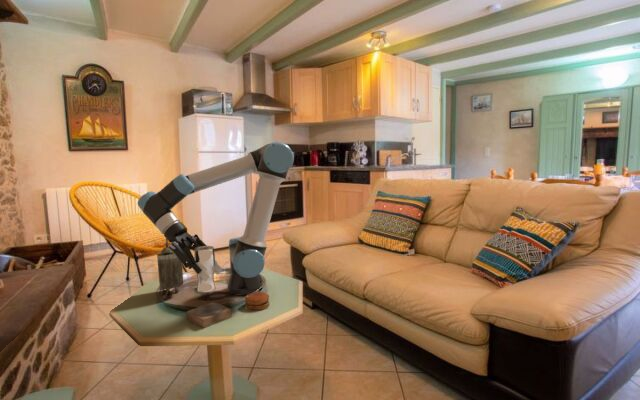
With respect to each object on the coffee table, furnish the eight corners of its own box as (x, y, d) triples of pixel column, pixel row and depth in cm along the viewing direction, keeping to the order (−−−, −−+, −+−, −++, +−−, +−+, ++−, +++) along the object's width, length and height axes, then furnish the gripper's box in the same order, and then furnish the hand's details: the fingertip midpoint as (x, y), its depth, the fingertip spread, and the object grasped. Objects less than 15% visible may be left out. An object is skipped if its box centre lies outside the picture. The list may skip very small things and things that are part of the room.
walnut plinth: (214, 309, 137) (214, 300, 136) (231, 317, 129) (230, 308, 129) (187, 319, 128) (186, 310, 128) (203, 328, 121) (202, 319, 121)
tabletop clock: (160, 290, 159) (155, 234, 156) (182, 286, 163) (177, 232, 160) (160, 301, 146) (155, 241, 143) (184, 297, 150) (180, 238, 147)
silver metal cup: (205, 294, 123) (203, 251, 121) (191, 291, 126) (189, 249, 125) (220, 287, 129) (218, 246, 127) (206, 284, 132) (204, 245, 131)
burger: (271, 308, 136) (271, 296, 135) (246, 312, 133) (246, 300, 132) (267, 299, 145) (266, 288, 145) (243, 303, 142) (243, 291, 142)
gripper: (184, 229, 139) (223, 273, 136) (146, 241, 121) (190, 292, 118) (195, 216, 137) (235, 260, 134) (158, 226, 118) (203, 277, 115)
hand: (214, 275), depth 126 cm, fingers closed on silver metal cup, 7 cm apart
